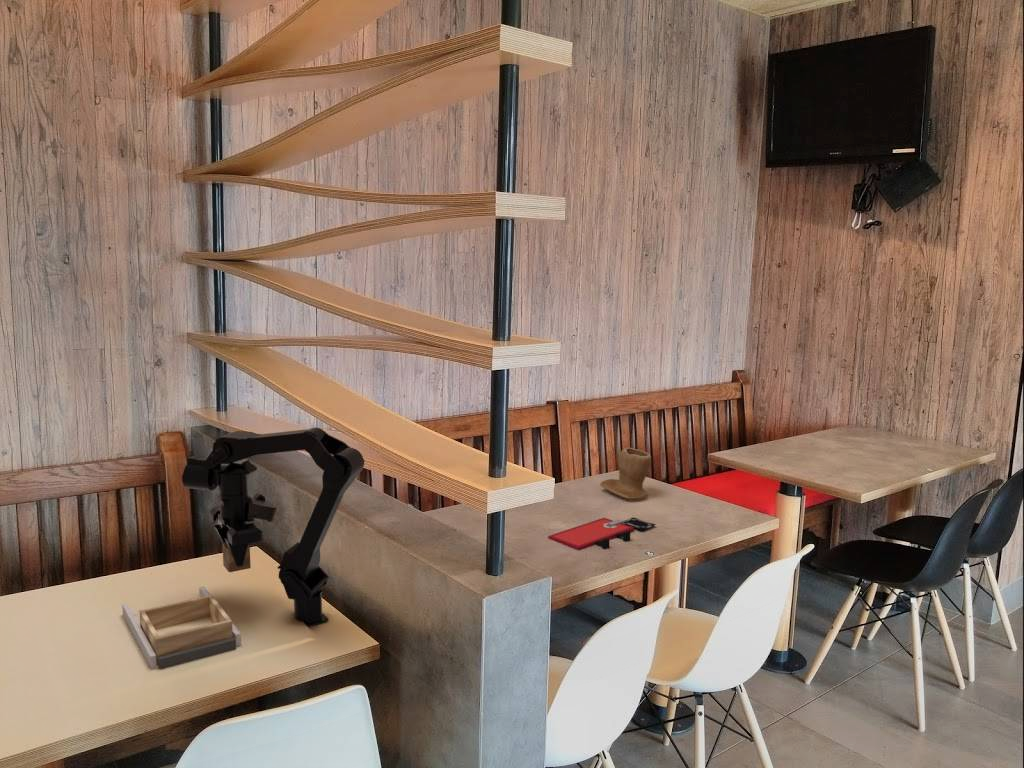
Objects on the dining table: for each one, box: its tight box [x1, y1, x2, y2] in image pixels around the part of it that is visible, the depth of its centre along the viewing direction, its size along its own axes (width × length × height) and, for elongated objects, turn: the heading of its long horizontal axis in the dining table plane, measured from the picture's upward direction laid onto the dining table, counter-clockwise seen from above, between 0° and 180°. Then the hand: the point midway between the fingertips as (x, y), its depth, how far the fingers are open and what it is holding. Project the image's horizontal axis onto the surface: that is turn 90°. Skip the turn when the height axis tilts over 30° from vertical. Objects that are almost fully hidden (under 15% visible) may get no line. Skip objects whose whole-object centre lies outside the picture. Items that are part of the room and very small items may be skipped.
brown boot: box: [599, 447, 652, 500], centre depth 264 cm, size 15×12×15 cm
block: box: [221, 542, 252, 573], centre depth 178 cm, size 4×4×5 cm
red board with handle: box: [547, 517, 657, 551], centre depth 230 cm, size 30×3×15 cm
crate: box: [139, 594, 233, 665], centre depth 165 cm, size 14×14×5 cm
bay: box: [121, 586, 242, 670], centre depth 169 cm, size 28×18×3 cm, turn 35°
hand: (236, 562), depth 178 cm, fingers closed on block, 4 cm apart
